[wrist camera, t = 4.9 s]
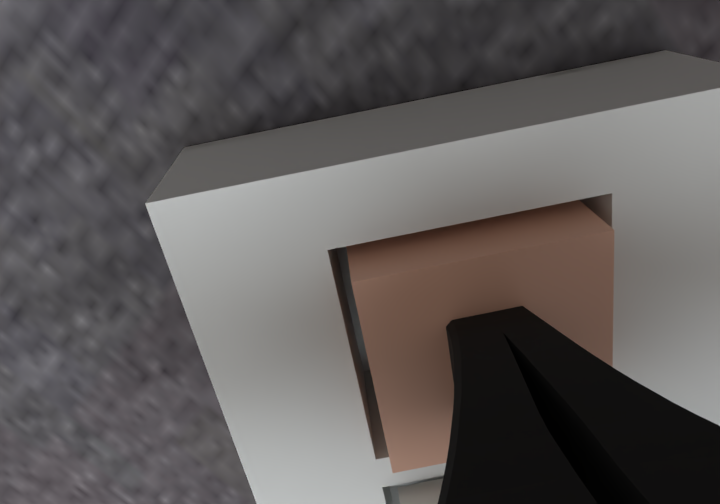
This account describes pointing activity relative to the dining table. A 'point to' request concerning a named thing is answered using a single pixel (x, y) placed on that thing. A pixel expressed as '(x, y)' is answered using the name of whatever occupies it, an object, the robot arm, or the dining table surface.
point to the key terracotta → (472, 306)
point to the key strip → (429, 211)
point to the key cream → (420, 492)
